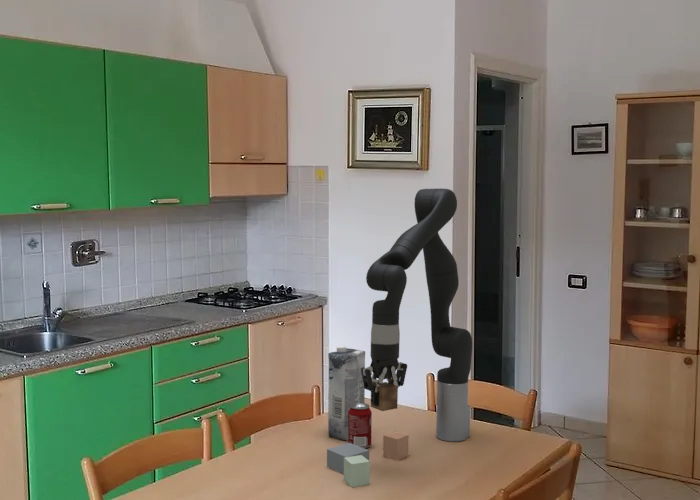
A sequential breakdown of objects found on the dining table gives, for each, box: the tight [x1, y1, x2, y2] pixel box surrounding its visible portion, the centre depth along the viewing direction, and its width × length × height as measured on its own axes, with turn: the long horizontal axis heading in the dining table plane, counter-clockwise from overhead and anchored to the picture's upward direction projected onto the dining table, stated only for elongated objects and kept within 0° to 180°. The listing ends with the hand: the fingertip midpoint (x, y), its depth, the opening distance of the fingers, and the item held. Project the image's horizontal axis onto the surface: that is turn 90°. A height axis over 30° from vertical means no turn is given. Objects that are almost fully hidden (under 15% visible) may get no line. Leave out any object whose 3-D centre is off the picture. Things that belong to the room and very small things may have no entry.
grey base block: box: [326, 442, 370, 475], centre depth 210 cm, size 8×8×5 cm
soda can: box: [347, 402, 373, 449], centre depth 226 cm, size 7×7×12 cm
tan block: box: [382, 431, 410, 461], centre depth 219 cm, size 5×5×6 cm
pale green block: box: [343, 455, 371, 488], centre depth 200 cm, size 5×5×6 cm
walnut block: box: [370, 381, 399, 412], centre depth 207 cm, size 5×5×6 cm
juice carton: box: [327, 345, 366, 442], centre depth 235 cm, size 9×10×27 cm
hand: (383, 403), depth 207 cm, fingers closed on walnut block, 5 cm apart
